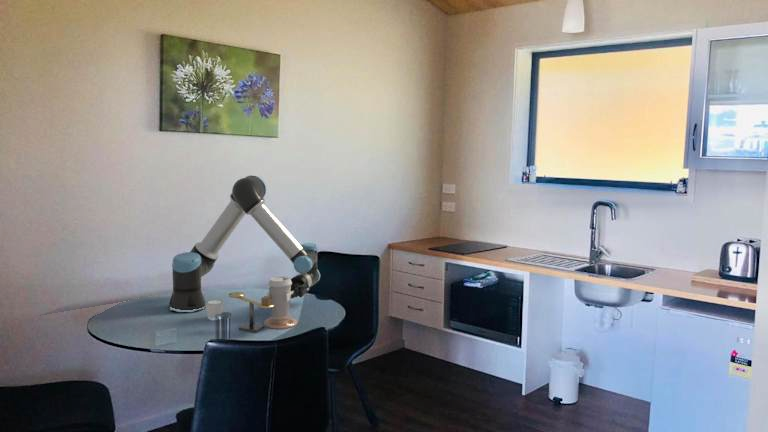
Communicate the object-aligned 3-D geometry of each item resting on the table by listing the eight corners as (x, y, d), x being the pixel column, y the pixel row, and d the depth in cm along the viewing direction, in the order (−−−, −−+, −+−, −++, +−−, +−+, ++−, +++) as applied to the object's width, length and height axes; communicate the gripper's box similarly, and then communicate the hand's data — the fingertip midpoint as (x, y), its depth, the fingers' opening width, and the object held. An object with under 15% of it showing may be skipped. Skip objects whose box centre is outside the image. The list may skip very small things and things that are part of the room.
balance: (226, 328, 245) (226, 294, 243) (233, 323, 251) (233, 291, 249) (269, 334, 240) (270, 300, 238) (276, 329, 246) (277, 296, 244)
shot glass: (226, 317, 258) (226, 301, 257) (215, 322, 252) (215, 305, 251) (213, 314, 261) (213, 298, 260) (202, 319, 255) (202, 303, 254)
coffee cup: (288, 318, 247) (287, 282, 245) (265, 317, 249) (264, 281, 247) (296, 311, 256) (295, 276, 254) (274, 310, 258) (273, 275, 256)
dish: (258, 326, 249) (258, 324, 248) (273, 317, 261) (273, 315, 261) (288, 330, 245) (288, 328, 245) (301, 320, 258) (301, 319, 257)
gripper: (321, 294, 267) (300, 309, 245) (278, 289, 272) (254, 303, 251) (322, 277, 266) (300, 290, 244) (279, 272, 271) (254, 285, 249)
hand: (277, 297), depth 247 cm, fingers closed on coffee cup, 7 cm apart
